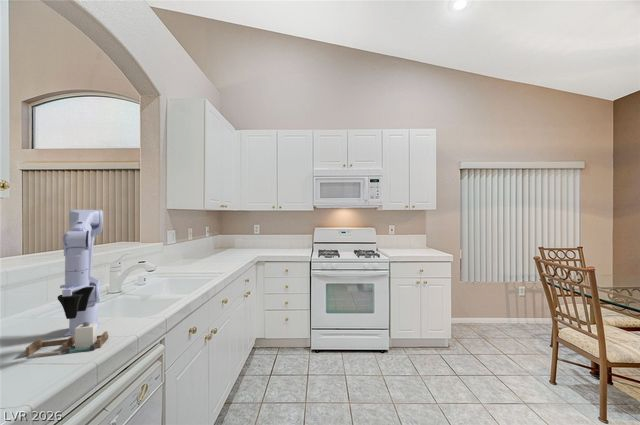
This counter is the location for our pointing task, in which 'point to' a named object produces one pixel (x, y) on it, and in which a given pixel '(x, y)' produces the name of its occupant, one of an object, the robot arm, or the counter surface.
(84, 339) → the plug
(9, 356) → the counter surface
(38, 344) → the slot rack
